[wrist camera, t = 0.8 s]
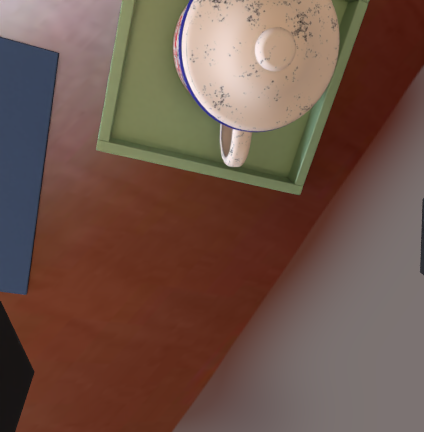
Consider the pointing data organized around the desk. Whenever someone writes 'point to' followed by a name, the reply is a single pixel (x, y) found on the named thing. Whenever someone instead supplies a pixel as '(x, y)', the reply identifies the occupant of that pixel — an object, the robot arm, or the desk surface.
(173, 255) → the desk surface
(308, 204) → the desk surface
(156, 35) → the tray
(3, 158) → the mat
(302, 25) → the teacup with lid
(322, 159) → the desk surface
